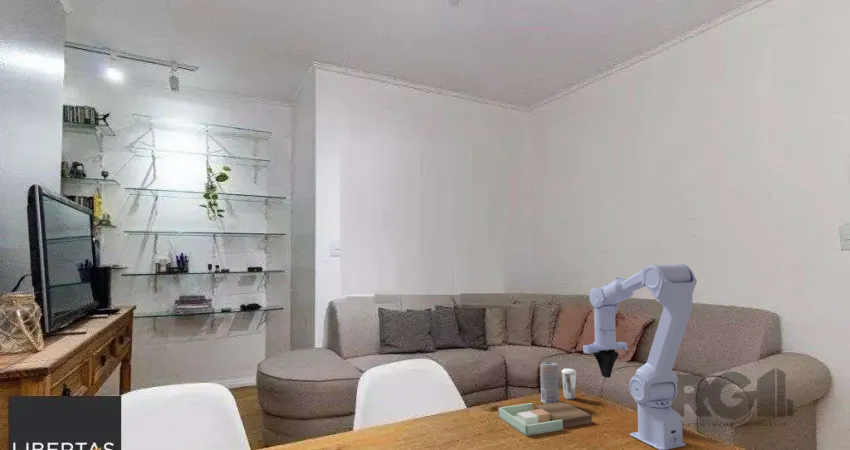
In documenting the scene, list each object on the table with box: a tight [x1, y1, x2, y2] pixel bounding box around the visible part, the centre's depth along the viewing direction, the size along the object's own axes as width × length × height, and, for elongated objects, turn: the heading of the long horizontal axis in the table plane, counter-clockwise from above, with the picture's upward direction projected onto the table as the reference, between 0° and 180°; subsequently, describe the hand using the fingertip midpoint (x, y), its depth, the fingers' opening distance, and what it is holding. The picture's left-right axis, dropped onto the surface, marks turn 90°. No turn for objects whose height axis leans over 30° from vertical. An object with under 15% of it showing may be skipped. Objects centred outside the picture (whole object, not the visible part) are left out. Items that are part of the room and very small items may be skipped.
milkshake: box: [561, 363, 577, 401], centre depth 140 cm, size 4×5×10 cm
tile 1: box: [517, 411, 538, 425], centre depth 118 cm, size 4×4×2 cm
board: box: [534, 400, 593, 429], centre depth 123 cm, size 12×10×2 cm
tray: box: [497, 402, 564, 437], centre depth 119 cm, size 14×11×2 cm
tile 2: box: [529, 409, 550, 423], centre depth 120 cm, size 4×4×2 cm
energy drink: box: [540, 360, 560, 404], centre depth 135 cm, size 5×5×12 cm
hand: (606, 376), depth 126 cm, fingers closed
